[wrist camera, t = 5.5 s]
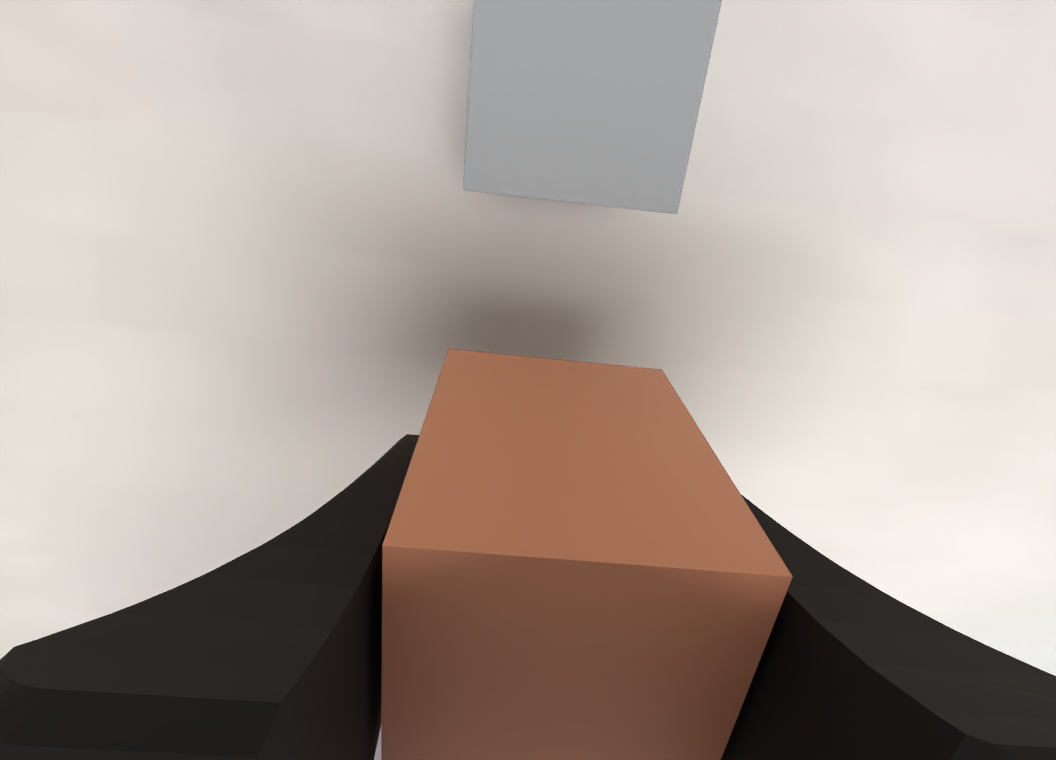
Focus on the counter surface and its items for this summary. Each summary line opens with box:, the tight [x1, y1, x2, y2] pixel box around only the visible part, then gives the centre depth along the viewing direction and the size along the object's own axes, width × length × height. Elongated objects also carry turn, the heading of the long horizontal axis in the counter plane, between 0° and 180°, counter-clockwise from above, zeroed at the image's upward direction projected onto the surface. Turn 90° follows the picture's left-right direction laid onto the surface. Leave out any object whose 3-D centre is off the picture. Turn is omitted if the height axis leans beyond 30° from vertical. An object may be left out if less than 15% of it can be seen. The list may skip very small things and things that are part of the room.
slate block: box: [463, 0, 722, 214], centre depth 13 cm, size 4×4×6 cm
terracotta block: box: [381, 349, 793, 760], centre depth 10 cm, size 4×4×6 cm
